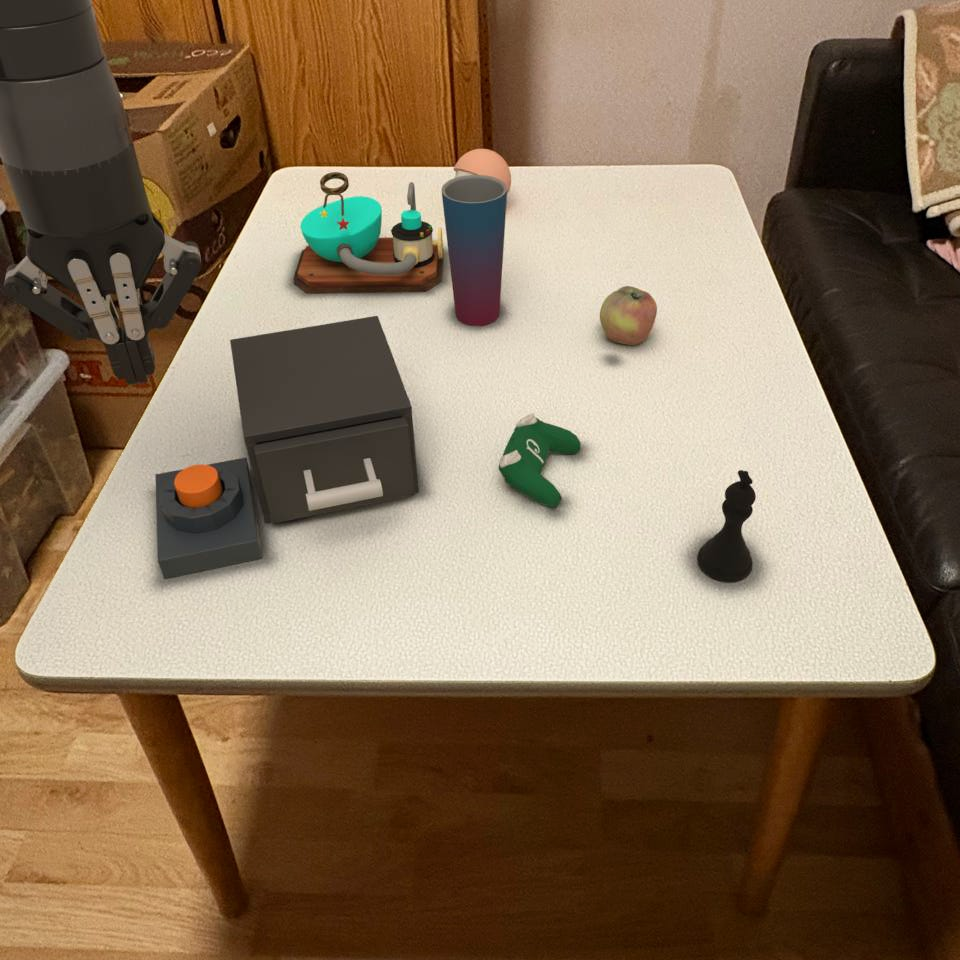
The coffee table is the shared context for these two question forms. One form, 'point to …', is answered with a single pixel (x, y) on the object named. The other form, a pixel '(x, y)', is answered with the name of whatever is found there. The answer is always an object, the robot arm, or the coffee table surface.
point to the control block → (207, 524)
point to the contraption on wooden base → (366, 247)
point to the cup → (475, 245)
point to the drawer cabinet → (316, 384)
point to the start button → (198, 485)
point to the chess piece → (730, 536)
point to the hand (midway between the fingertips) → (138, 377)
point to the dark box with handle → (336, 469)
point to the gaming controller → (535, 457)
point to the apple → (628, 315)
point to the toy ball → (484, 165)
